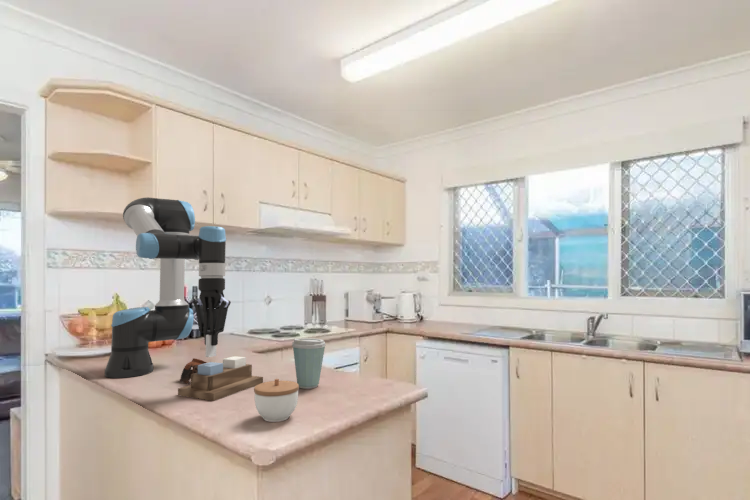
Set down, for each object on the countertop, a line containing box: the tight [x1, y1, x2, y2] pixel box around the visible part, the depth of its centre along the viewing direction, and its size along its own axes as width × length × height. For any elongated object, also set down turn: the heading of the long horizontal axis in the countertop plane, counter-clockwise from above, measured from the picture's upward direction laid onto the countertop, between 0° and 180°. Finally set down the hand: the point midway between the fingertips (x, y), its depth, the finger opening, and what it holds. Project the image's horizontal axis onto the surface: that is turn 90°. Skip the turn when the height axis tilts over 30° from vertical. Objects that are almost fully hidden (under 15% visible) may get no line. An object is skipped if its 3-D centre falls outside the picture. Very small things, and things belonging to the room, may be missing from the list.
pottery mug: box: [179, 357, 208, 384], centre depth 141 cm, size 12×10×8 cm
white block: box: [222, 355, 247, 369], centre depth 135 cm, size 5×5×4 cm
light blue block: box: [198, 361, 223, 376], centre depth 126 cm, size 5×5×4 cm
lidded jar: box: [253, 378, 299, 423], centre depth 104 cm, size 11×11×9 cm
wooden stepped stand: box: [177, 363, 264, 402], centre depth 130 cm, size 14×21×6 cm, turn 156°
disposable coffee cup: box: [291, 337, 327, 390], centre depth 133 cm, size 11×11×15 cm
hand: (210, 356), depth 126 cm, fingers closed
